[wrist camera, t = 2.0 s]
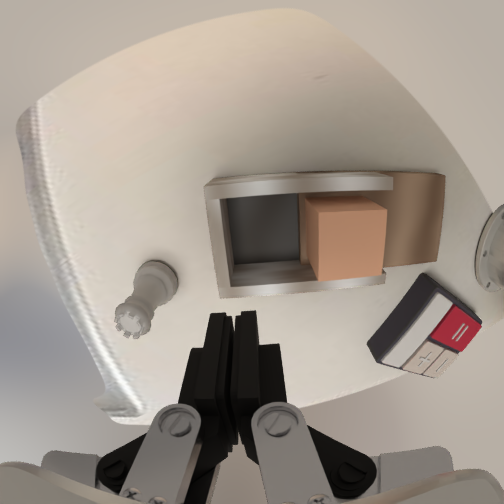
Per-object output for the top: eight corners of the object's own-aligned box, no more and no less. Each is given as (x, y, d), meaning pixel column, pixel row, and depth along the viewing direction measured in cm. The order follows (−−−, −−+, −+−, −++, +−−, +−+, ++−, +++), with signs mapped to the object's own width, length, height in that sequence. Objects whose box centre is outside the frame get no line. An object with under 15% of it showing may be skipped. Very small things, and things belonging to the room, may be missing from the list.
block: (361, 195, 21) (387, 209, 17) (359, 250, 23) (381, 275, 19) (305, 197, 22) (318, 212, 17) (306, 254, 24) (318, 281, 19)
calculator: (437, 382, 29) (377, 367, 26) (425, 363, 33) (364, 343, 30) (486, 325, 25) (441, 289, 22) (470, 308, 29) (420, 270, 26)
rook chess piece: (149, 250, 25) (114, 291, 18) (187, 276, 26) (164, 325, 19) (131, 282, 27) (97, 326, 19) (166, 305, 28) (142, 356, 20)
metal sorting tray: (437, 173, 22) (464, 180, 18) (429, 255, 25) (451, 273, 21) (213, 178, 23) (203, 186, 18) (225, 273, 26) (219, 298, 22)
